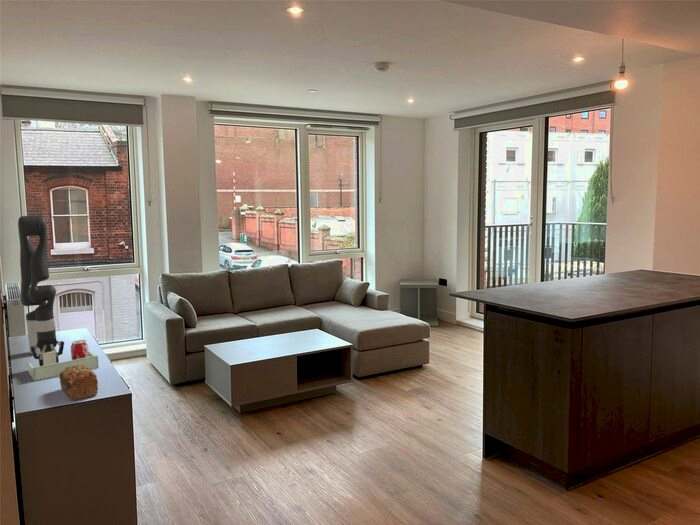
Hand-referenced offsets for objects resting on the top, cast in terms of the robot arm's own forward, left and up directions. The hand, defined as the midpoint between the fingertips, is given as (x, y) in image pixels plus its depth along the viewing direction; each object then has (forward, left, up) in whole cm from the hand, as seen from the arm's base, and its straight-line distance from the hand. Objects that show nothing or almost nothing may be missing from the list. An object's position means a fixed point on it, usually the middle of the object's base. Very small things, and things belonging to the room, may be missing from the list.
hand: (49, 365), depth 252 cm
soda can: (+10, +11, -1) cm, 15 cm away
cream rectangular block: (0, 0, -1) cm, 1 cm away
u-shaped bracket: (+10, +4, -1) cm, 11 cm away
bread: (+45, +2, -1) cm, 45 cm away
